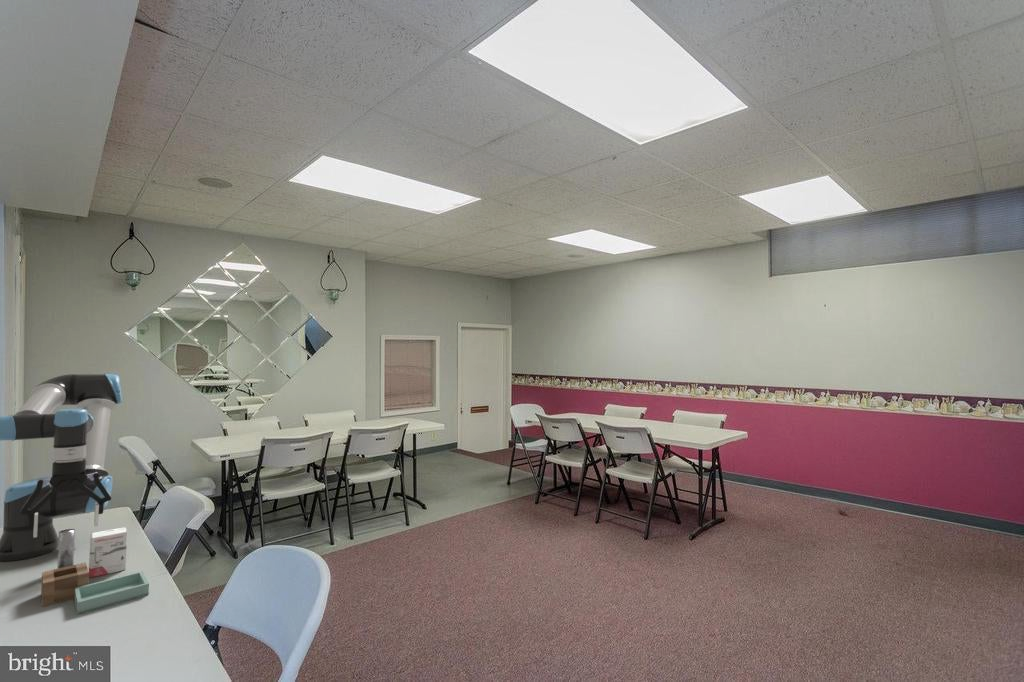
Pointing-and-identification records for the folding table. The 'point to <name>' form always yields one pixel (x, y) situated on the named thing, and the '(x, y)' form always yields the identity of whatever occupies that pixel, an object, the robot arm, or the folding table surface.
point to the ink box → (107, 552)
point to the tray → (110, 592)
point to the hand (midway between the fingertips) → (66, 530)
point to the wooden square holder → (63, 583)
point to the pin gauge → (66, 548)
